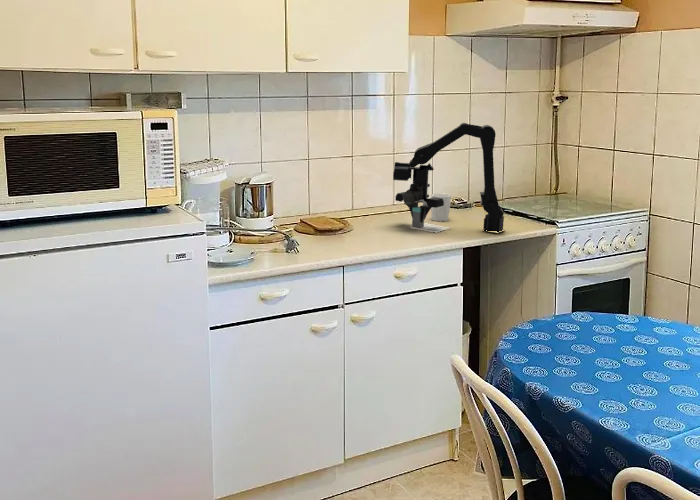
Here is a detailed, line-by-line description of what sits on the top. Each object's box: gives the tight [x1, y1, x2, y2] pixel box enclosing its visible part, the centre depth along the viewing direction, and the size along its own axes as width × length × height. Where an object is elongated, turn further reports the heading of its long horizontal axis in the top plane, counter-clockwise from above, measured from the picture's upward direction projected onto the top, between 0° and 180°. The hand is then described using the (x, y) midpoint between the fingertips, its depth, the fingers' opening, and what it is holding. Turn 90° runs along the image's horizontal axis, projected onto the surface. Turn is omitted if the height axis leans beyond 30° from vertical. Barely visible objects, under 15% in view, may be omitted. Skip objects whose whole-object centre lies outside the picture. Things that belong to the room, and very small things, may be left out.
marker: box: [411, 205, 425, 228], centre depth 292 cm, size 3×3×7 cm
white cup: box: [430, 192, 452, 222], centre depth 307 cm, size 8×8×10 cm
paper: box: [409, 222, 451, 234], centre depth 293 cm, size 12×10×1 cm
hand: (418, 221), depth 293 cm, fingers closed on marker, 3 cm apart
